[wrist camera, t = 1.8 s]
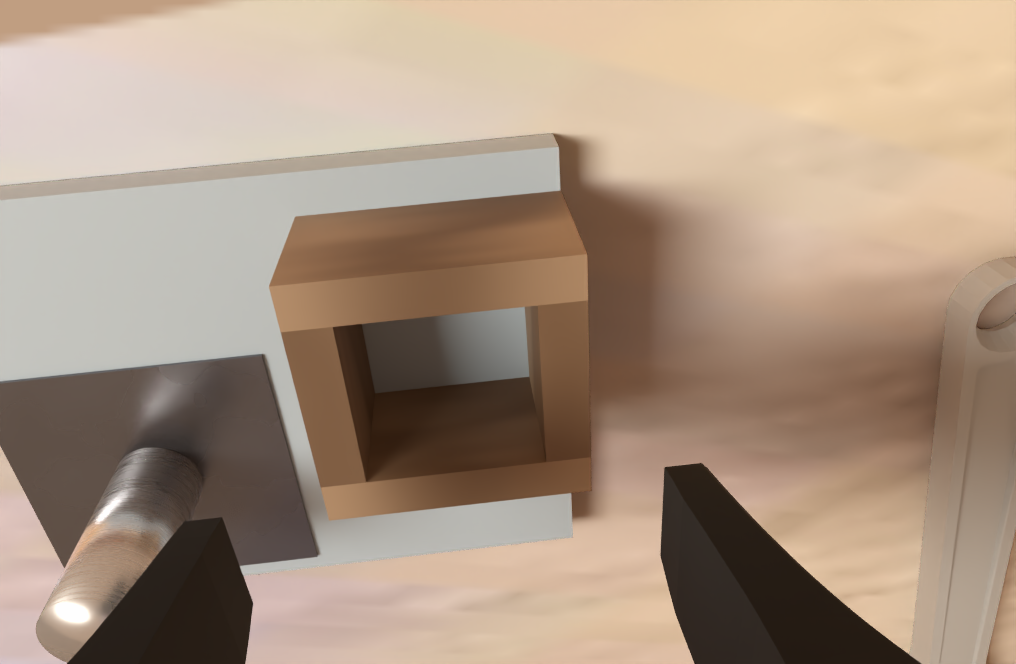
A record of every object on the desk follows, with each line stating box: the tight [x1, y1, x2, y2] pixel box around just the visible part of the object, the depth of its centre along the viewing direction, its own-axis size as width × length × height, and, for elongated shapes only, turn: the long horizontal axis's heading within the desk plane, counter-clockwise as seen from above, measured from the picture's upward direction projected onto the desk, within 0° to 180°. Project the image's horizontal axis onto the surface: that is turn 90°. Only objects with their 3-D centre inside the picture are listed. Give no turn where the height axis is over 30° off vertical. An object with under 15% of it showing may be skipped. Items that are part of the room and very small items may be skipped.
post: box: [0, 354, 318, 663], centre depth 19 cm, size 7×7×5 cm
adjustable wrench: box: [909, 257, 1016, 664], centre depth 27 cm, size 25×6×2 cm, turn 6°
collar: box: [269, 190, 592, 521], centre depth 18 cm, size 6×6×3 cm
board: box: [0, 133, 573, 576], centre depth 20 cm, size 14×12×1 cm
